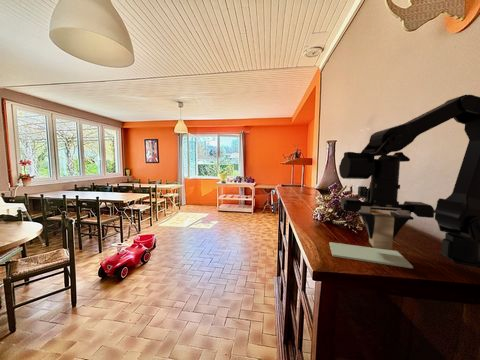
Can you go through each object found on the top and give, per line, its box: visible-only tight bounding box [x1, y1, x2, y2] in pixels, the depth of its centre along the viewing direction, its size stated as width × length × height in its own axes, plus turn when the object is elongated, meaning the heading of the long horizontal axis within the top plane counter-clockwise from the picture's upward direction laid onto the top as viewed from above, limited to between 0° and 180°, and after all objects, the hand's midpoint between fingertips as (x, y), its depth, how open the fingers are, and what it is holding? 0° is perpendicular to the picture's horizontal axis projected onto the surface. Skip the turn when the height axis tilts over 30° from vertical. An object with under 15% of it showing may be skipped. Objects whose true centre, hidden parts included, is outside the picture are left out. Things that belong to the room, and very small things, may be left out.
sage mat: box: [328, 241, 414, 269], centre depth 53 cm, size 17×9×1 cm, turn 71°
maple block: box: [368, 212, 394, 250], centre depth 52 cm, size 4×4×8 cm
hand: (380, 239), depth 52 cm, fingers closed on maple block, 4 cm apart
